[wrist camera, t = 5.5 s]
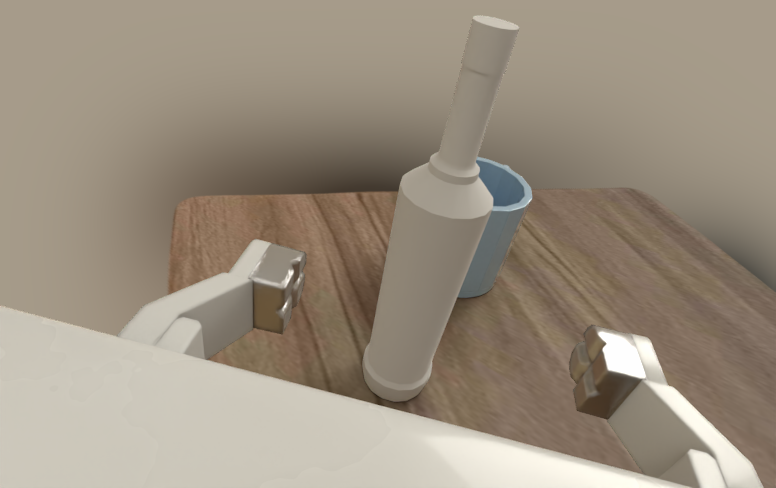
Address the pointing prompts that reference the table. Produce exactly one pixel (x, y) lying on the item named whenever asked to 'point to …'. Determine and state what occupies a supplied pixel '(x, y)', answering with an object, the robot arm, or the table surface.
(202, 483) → the robot arm
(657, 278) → the table surface
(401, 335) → the bottle
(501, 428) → the table surface
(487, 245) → the blue faceted cup
